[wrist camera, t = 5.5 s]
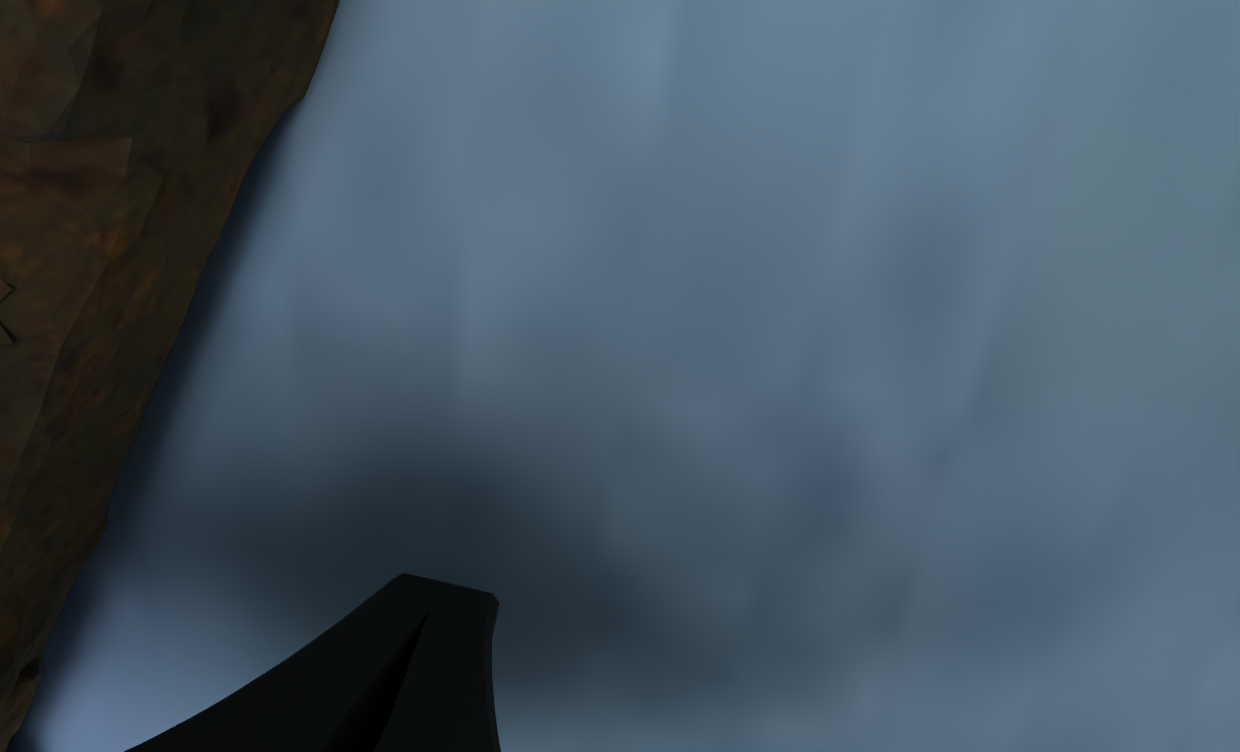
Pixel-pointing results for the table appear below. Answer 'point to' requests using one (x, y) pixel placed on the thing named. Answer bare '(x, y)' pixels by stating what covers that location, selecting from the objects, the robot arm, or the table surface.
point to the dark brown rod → (110, 251)
